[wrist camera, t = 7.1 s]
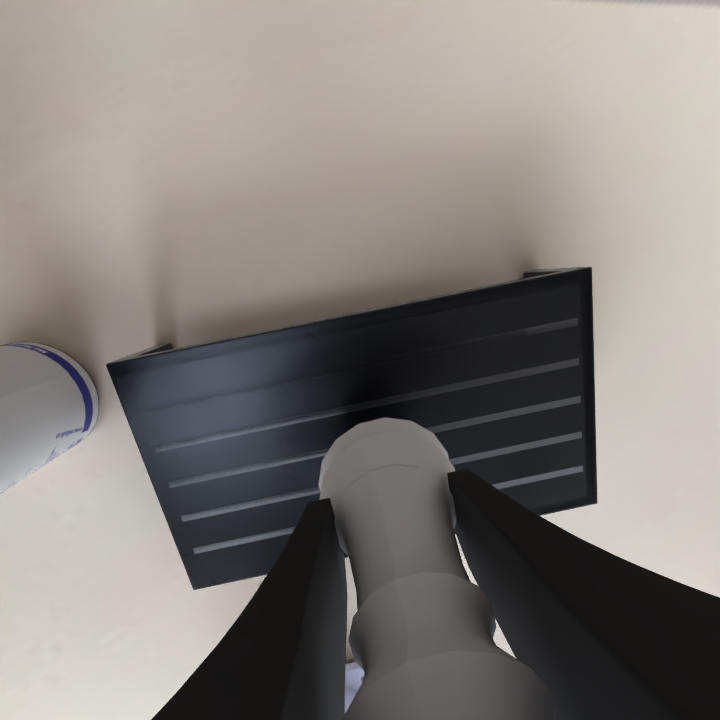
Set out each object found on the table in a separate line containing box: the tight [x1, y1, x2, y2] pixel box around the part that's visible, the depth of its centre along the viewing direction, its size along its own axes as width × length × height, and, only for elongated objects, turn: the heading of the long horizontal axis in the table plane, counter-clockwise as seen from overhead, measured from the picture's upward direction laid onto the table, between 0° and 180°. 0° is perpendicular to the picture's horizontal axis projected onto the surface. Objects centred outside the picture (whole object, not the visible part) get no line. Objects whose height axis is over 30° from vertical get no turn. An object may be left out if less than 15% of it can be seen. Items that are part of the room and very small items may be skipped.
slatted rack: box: [106, 267, 597, 590], centre depth 16 cm, size 11×19×4 cm, turn 101°
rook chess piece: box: [318, 418, 556, 720], centre depth 8 cm, size 4×4×8 cm
